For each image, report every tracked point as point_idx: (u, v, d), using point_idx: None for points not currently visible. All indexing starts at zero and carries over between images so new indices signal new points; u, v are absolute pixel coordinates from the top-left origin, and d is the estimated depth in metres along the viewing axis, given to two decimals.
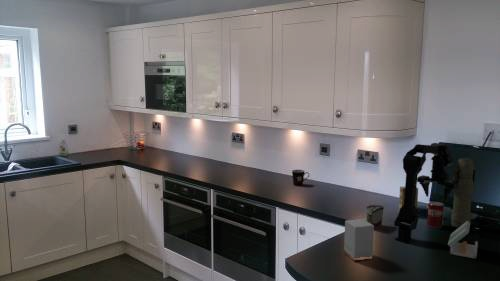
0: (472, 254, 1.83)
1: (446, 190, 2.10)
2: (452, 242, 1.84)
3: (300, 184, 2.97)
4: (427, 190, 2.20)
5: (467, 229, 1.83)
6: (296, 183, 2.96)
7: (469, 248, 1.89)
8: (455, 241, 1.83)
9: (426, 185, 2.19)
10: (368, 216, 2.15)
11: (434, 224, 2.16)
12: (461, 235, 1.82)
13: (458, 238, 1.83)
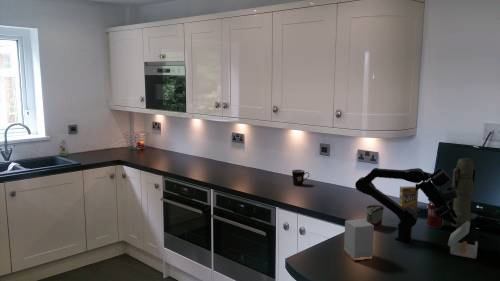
0: (472, 254, 1.83)
1: None
2: (452, 242, 1.84)
3: (300, 184, 2.97)
4: (451, 212, 1.94)
5: (467, 229, 1.83)
6: (296, 183, 2.96)
7: (469, 248, 1.89)
8: (455, 241, 1.83)
9: None
10: (368, 216, 2.15)
11: (434, 224, 2.16)
12: (461, 235, 1.82)
13: (458, 238, 1.83)
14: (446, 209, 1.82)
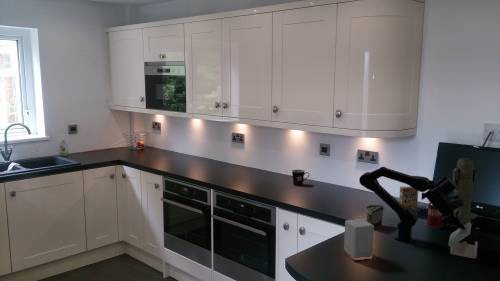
0: (472, 254, 1.83)
1: None
2: (452, 242, 1.84)
3: (300, 184, 2.97)
4: None
5: (468, 230, 1.83)
6: (296, 183, 2.96)
7: (469, 248, 1.89)
8: (455, 241, 1.83)
9: None
10: (368, 216, 2.15)
11: (434, 224, 2.16)
12: (462, 236, 1.82)
13: (459, 239, 1.83)
14: (452, 218, 1.80)
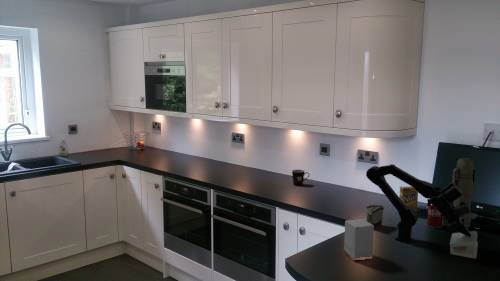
0: (472, 254, 1.83)
1: None
2: (455, 244, 1.84)
3: (300, 184, 2.97)
4: None
5: (475, 240, 1.82)
6: (296, 183, 2.96)
7: (469, 248, 1.89)
8: (458, 245, 1.83)
9: None
10: (368, 216, 2.15)
11: (434, 224, 2.16)
12: (467, 243, 1.81)
13: (463, 244, 1.82)
14: (459, 225, 1.80)
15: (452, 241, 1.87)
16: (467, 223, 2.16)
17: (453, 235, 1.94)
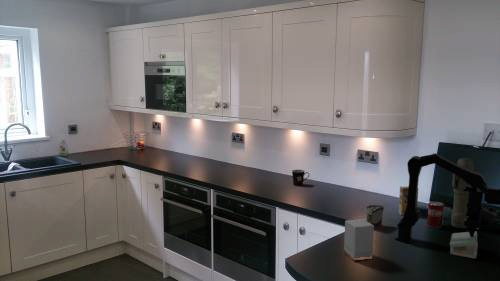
0: (472, 254, 1.83)
1: None
2: (455, 244, 1.84)
3: (300, 184, 2.97)
4: None
5: (475, 241, 1.82)
6: (296, 183, 2.96)
7: (469, 248, 1.89)
8: (458, 245, 1.83)
9: None
10: (368, 216, 2.15)
11: (434, 224, 2.16)
12: (467, 243, 1.81)
13: (463, 244, 1.82)
14: (477, 226, 1.76)
15: (452, 241, 1.87)
16: None
17: (453, 235, 1.94)
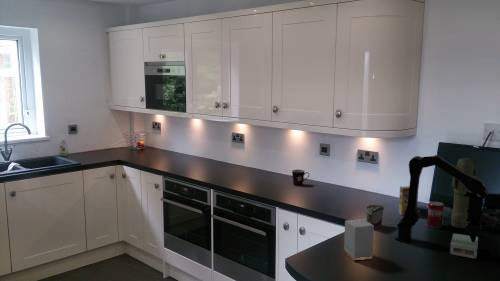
0: (472, 254, 1.83)
1: None
2: (456, 245, 1.84)
3: (300, 184, 2.97)
4: None
5: None
6: (296, 183, 2.96)
7: None
8: (459, 247, 1.83)
9: None
10: (368, 216, 2.15)
11: (434, 224, 2.16)
12: (469, 248, 1.81)
13: (464, 247, 1.82)
14: (478, 231, 1.76)
15: (453, 242, 1.86)
16: None
17: (454, 235, 1.94)
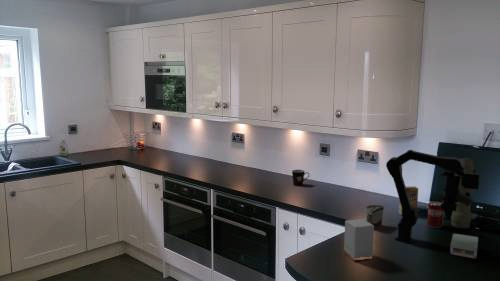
0: (472, 254, 1.83)
1: None
2: (456, 245, 1.84)
3: (300, 184, 2.97)
4: None
5: None
6: (296, 183, 2.96)
7: None
8: (459, 247, 1.83)
9: None
10: (368, 216, 2.15)
11: (434, 224, 2.16)
12: (469, 248, 1.81)
13: (464, 247, 1.82)
14: (453, 209, 1.80)
15: (453, 242, 1.86)
16: (467, 223, 2.16)
17: (454, 235, 1.94)
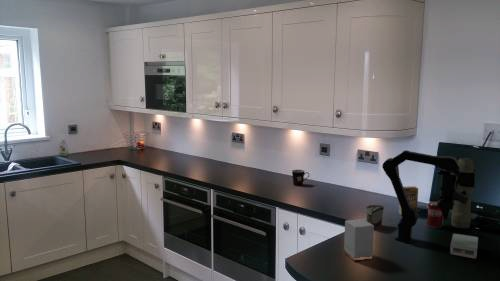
0: (472, 254, 1.83)
1: None
2: (456, 245, 1.84)
3: (300, 184, 2.97)
4: None
5: None
6: (296, 183, 2.96)
7: None
8: (459, 247, 1.83)
9: None
10: (368, 216, 2.15)
11: (434, 224, 2.16)
12: (469, 248, 1.81)
13: (464, 247, 1.82)
14: (450, 207, 1.81)
15: (453, 242, 1.86)
16: (467, 223, 2.16)
17: (454, 235, 1.94)
